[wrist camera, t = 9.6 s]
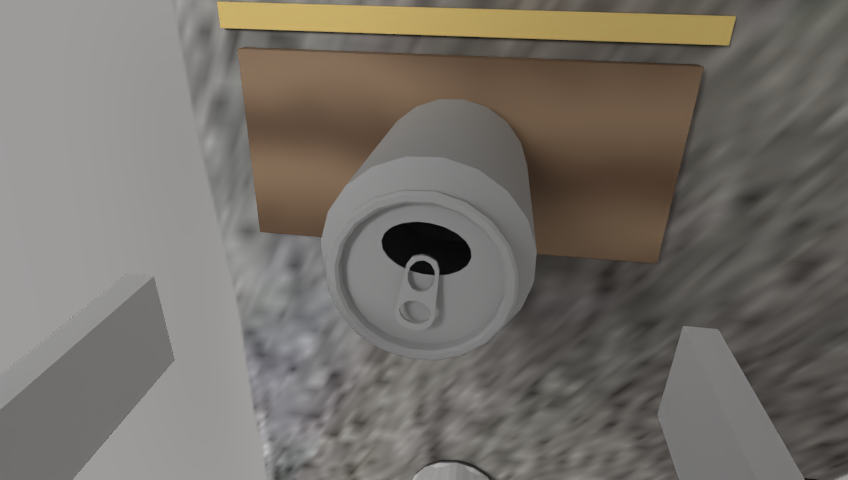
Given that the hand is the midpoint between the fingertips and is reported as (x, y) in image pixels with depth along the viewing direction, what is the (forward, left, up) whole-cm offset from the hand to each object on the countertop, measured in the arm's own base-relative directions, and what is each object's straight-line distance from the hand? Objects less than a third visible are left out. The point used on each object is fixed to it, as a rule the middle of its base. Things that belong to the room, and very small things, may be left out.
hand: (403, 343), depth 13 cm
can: (0, 0, -16) cm, 16 cm away
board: (0, 0, -16) cm, 16 cm away
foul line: (-7, 0, -16) cm, 18 cm away
